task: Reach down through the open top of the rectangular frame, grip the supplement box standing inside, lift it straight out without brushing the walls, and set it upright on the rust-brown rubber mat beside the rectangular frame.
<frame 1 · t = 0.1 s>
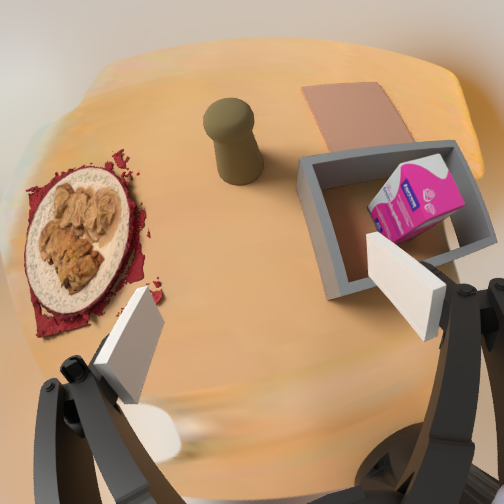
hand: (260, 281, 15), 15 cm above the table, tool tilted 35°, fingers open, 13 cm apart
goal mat: (358, 115, 34), on the table
cork: (240, 165, 34), on the table
supplement box: (391, 222, 31), resting in rectangular frame
plate with food: (81, 236, 35), on the table
rectangular frame: (392, 222, 31), on the table
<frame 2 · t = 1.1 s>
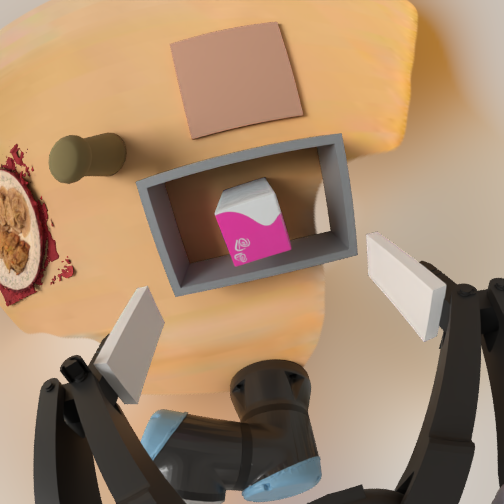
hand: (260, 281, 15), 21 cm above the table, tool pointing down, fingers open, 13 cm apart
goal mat: (235, 75, 28), on the table
cork: (107, 154, 31), on the table
supplement box: (250, 204, 35), resting in rectangular frame
plate with food: (9, 225, 34), on the table
rectangular frame: (250, 204, 35), on the table
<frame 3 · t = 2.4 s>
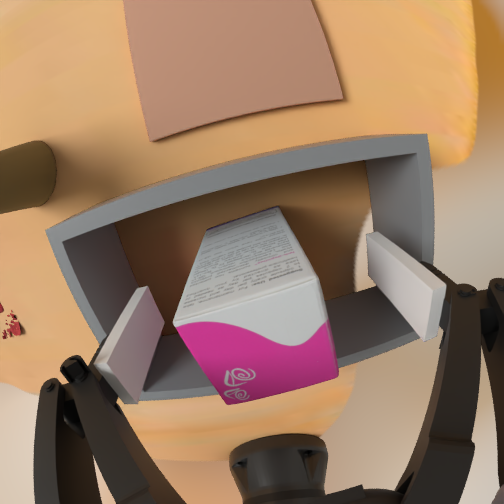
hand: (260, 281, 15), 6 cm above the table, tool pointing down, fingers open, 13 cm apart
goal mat: (225, 32, 15), on the table
cork: (34, 173, 17), on the table
supplement box: (252, 250, 21), resting in rectangular frame
rectangular frame: (252, 251, 21), on the table
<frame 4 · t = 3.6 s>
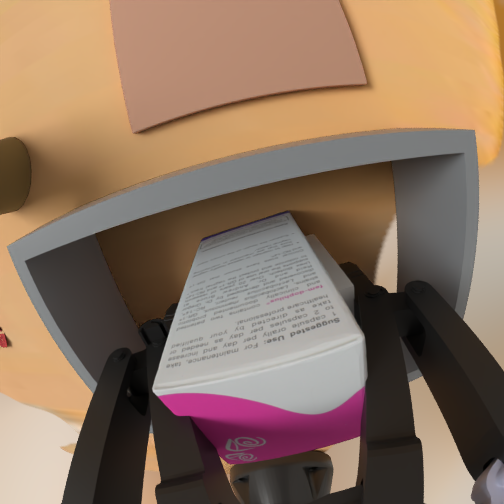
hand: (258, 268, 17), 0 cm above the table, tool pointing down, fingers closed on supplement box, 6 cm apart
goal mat: (225, 4, 11), on the table
cork: (9, 174, 14), on the table
supplement box: (257, 264, 17), resting in rectangular frame, touching gripper
rectangular frame: (257, 265, 17), on the table
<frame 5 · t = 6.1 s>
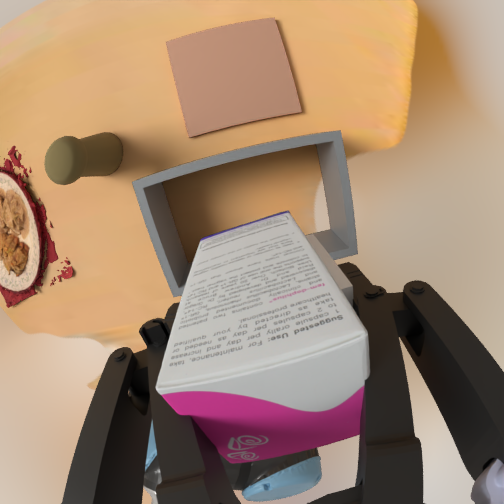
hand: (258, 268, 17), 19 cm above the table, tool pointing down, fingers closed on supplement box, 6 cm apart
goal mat: (232, 72, 28), on the table
cork: (104, 154, 31), on the table
supplement box: (256, 263, 18), point 18 cm above the table, touching gripper
plate with food: (8, 227, 34), on the table
rectangular frame: (248, 203, 34), on the table
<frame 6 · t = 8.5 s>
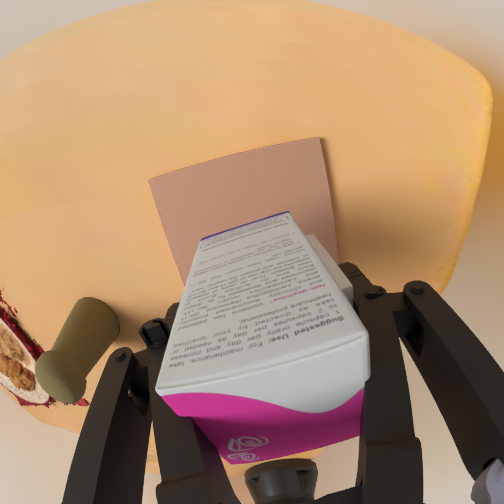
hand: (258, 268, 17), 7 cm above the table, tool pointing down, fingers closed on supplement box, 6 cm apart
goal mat: (252, 236, 23), on the table
cork: (96, 319, 26), on the table
supplement box: (256, 263, 17), point 6 cm above the table, touching gripper
plate with food: (7, 346, 29), on the table
when the fingers open (2 cm above the table, at t = 9.7 s): supplement box stays where it is, point 1 cm above the table.
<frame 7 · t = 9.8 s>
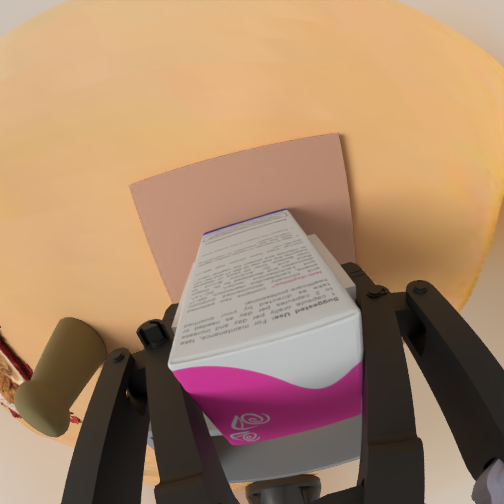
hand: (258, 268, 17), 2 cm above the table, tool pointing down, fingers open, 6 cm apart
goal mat: (256, 253, 19), on the table
cork: (81, 340, 22), on the table
supplement box: (255, 258, 18), point 1 cm above the table
rectangular frame: (273, 401, 26), on the table
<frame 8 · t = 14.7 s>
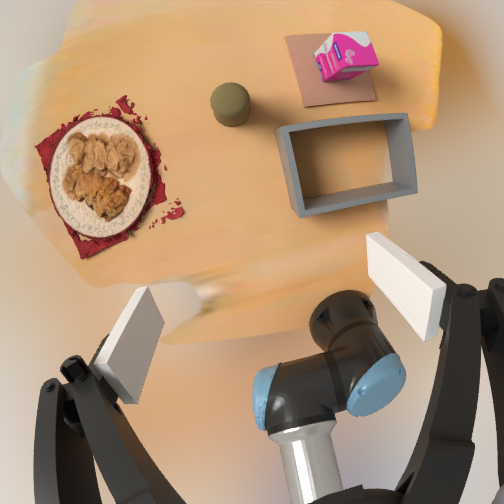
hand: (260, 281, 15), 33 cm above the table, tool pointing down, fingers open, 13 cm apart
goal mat: (332, 67, 37), on the table
cork: (231, 109, 40), on the table
supplement box: (331, 66, 37), resting on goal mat
plate with food: (102, 173, 43), on the table
rectangular frame: (342, 158, 44), on the table
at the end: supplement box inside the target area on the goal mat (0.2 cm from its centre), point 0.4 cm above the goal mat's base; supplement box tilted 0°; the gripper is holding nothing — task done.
